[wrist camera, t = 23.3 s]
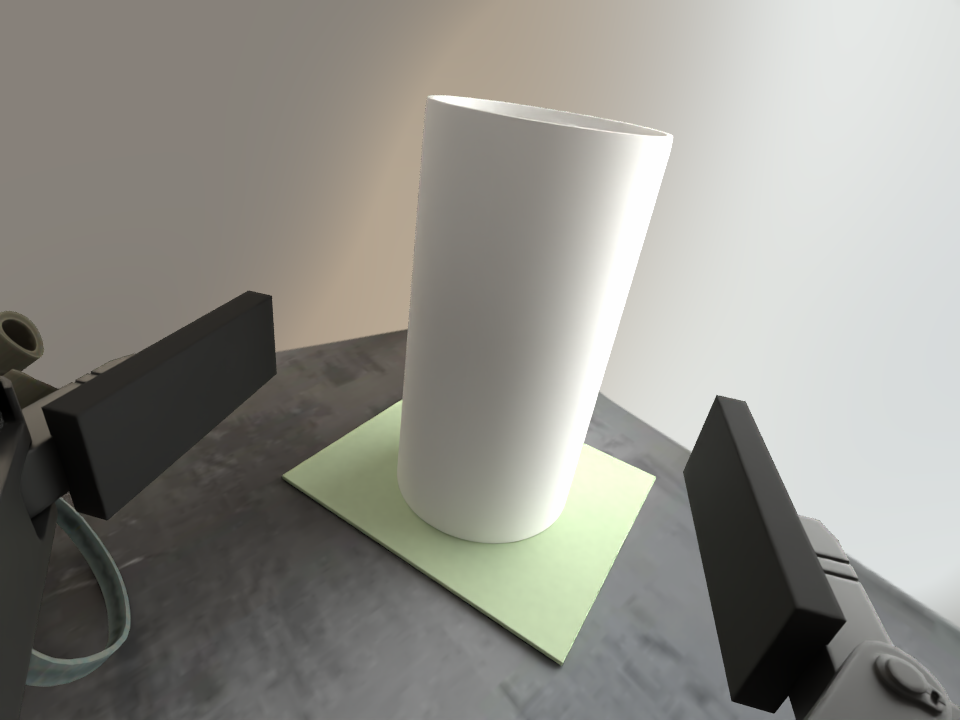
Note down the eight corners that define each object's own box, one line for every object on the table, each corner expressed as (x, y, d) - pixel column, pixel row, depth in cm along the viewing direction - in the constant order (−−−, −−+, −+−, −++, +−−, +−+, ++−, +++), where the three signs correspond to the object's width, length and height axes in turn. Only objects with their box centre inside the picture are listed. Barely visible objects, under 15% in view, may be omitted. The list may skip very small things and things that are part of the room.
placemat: (282, 478, 23) (281, 475, 23) (438, 378, 33) (439, 375, 32) (561, 666, 18) (562, 663, 17) (655, 479, 27) (656, 476, 27)
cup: (584, 459, 27) (684, 132, 19) (535, 575, 20) (659, 143, 13) (446, 407, 30) (485, 97, 22) (361, 495, 23) (375, 91, 15)
